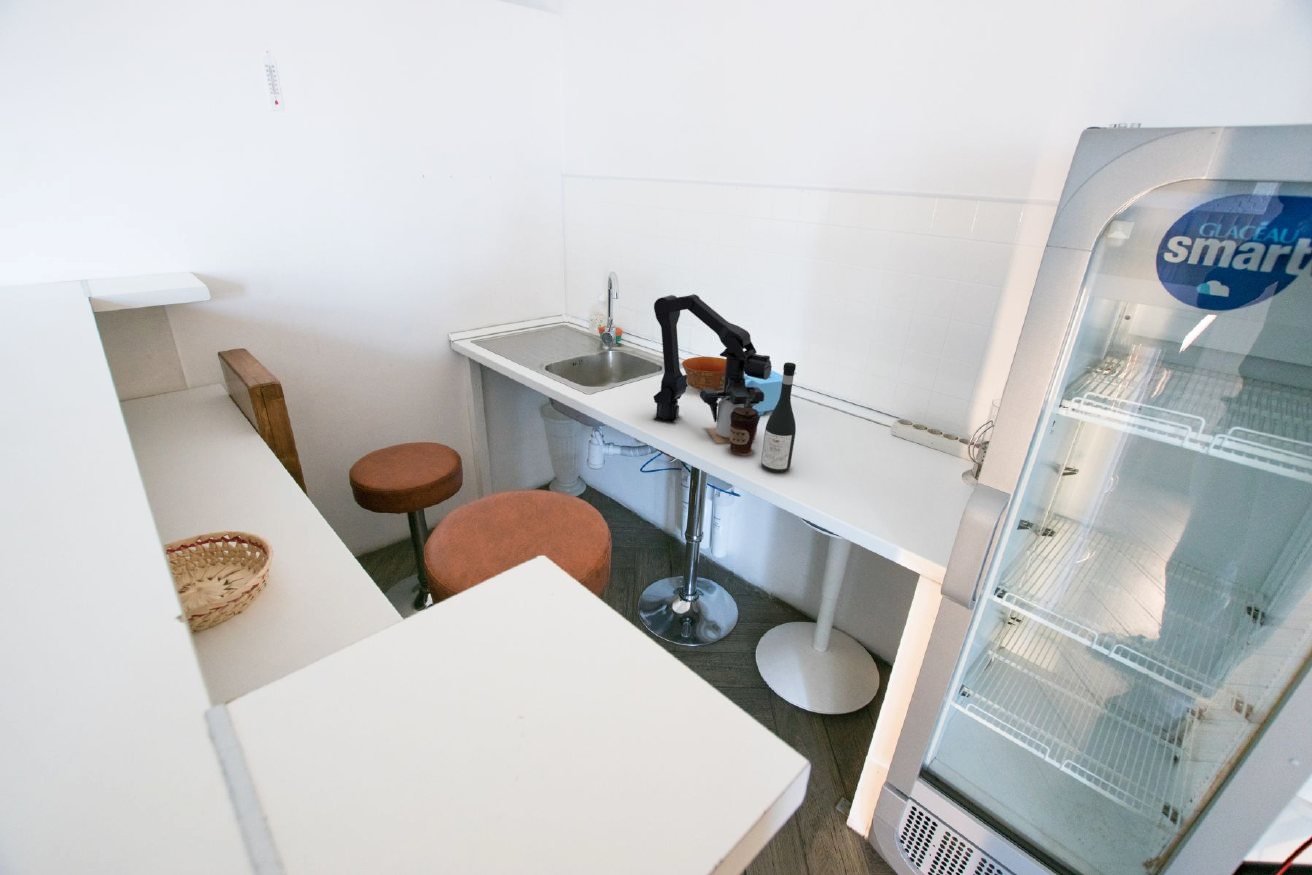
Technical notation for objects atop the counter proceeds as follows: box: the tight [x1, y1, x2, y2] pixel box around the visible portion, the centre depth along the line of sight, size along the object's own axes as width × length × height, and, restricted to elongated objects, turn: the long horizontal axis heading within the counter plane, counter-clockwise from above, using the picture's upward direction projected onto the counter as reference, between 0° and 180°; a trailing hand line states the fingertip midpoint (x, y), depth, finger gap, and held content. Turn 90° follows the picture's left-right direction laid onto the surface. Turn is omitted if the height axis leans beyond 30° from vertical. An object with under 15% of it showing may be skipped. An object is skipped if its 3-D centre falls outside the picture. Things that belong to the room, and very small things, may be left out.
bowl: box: [681, 356, 726, 392], centre depth 217 cm, size 21×21×10 cm
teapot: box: [744, 369, 797, 416], centre depth 200 cm, size 22×11×14 cm, turn 115°
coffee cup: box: [729, 407, 761, 456], centre depth 166 cm, size 9×8×13 cm
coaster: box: [706, 427, 731, 444], centre depth 179 cm, size 11×11×1 cm
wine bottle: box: [760, 361, 797, 473], centre depth 154 cm, size 8×8×30 cm
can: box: [715, 398, 744, 438], centre depth 177 cm, size 8×8×12 cm
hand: (729, 421), depth 177 cm, fingers open, 9 cm apart
